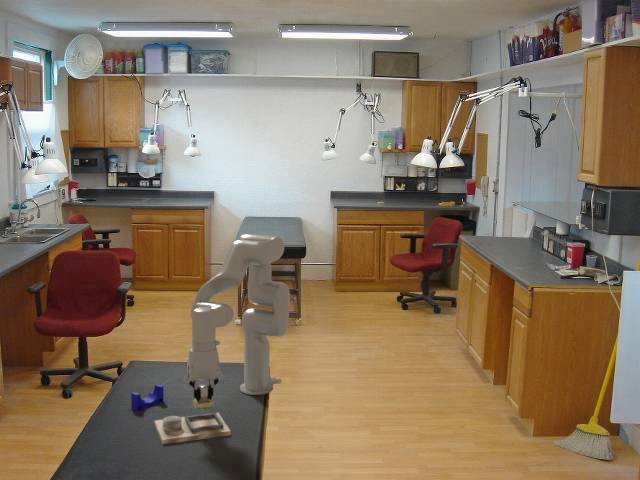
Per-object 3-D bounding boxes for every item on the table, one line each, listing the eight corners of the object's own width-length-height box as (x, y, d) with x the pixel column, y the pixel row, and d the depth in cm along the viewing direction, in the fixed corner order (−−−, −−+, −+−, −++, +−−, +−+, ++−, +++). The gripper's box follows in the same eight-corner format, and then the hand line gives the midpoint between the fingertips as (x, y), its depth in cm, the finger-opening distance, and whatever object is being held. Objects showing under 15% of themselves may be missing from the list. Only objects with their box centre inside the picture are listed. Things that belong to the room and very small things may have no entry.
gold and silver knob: (211, 400, 254) (211, 381, 253) (216, 407, 248) (216, 388, 247) (190, 402, 252) (190, 383, 251) (195, 410, 245) (195, 391, 244)
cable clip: (155, 398, 277) (155, 383, 276) (163, 401, 274) (163, 386, 273) (128, 408, 268) (128, 392, 267) (137, 411, 265) (136, 395, 264)
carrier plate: (218, 416, 261) (218, 404, 261) (230, 435, 247) (230, 422, 246) (154, 424, 253) (154, 412, 253) (162, 444, 239) (162, 430, 238)
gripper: (225, 340, 253) (225, 392, 256) (176, 344, 247) (176, 397, 250) (231, 346, 246) (230, 400, 249) (180, 350, 240) (180, 406, 243)
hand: (203, 398), depth 250 cm, fingers closed on gold and silver knob, 3 cm apart
